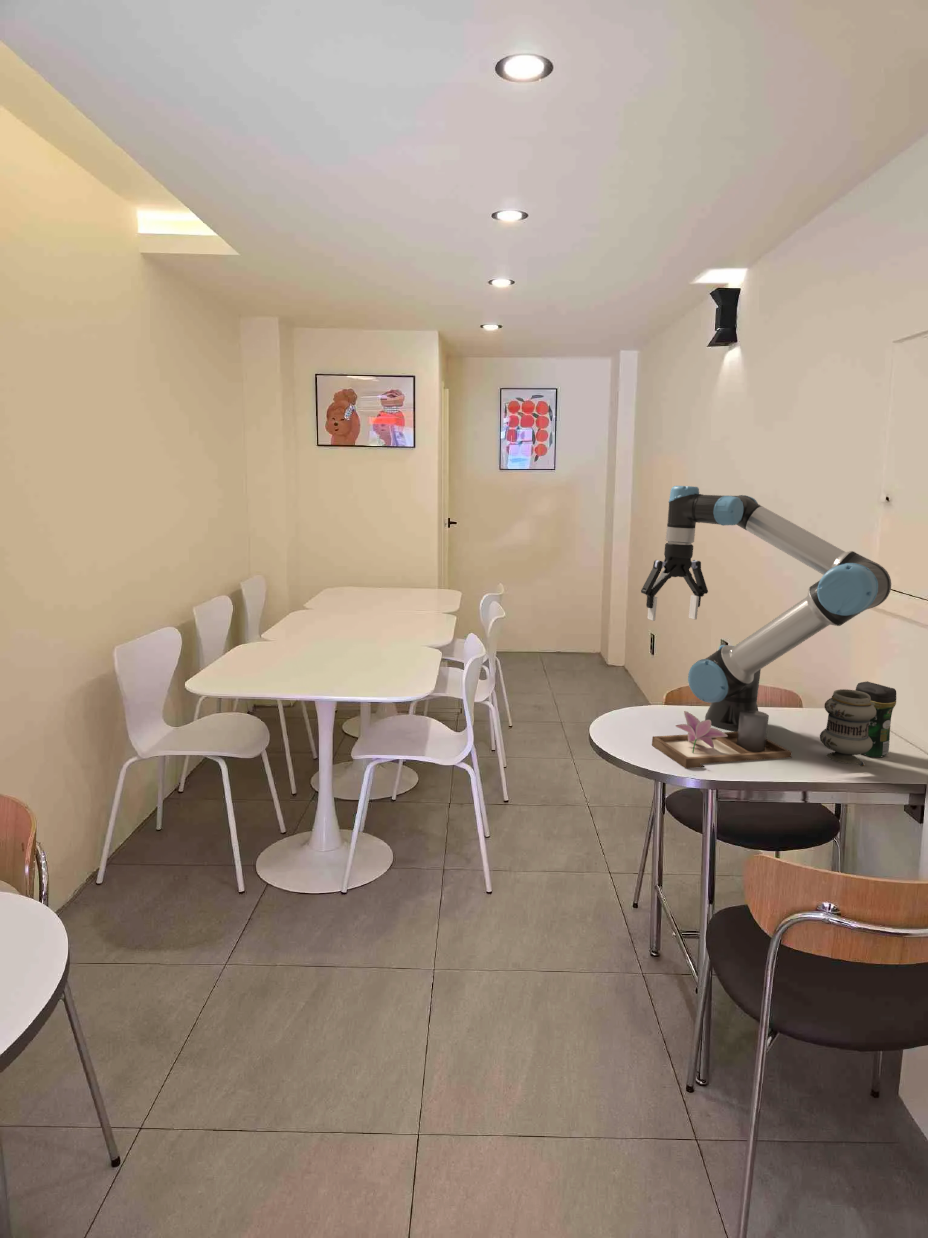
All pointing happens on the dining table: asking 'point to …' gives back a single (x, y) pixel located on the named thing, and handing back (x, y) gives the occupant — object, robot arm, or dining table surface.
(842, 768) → the dining table surface
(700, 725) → the lily
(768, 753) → the tray
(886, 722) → the coffee jar
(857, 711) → the apothecary jar
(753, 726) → the grey rounded cylinder
